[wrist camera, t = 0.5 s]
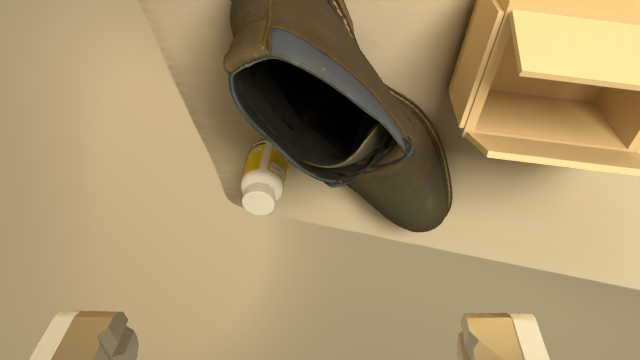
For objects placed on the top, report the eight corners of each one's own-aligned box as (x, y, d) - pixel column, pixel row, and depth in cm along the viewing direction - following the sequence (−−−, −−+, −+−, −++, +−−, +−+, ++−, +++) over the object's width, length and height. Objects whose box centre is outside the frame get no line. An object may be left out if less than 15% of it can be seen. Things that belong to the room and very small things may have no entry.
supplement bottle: (248, 167, 67) (234, 216, 59) (251, 135, 63) (236, 183, 56) (286, 173, 67) (277, 223, 60) (291, 142, 64) (282, 190, 56)
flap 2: (467, 131, 49) (488, 150, 42) (636, 152, 49) (684, 174, 42) (465, 137, 49) (486, 157, 42) (634, 158, 49) (681, 181, 43)
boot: (382, 228, 73) (388, 347, 58) (192, -1, 52) (123, 88, 37) (478, 188, 67) (515, 308, 51) (307, -90, 46) (281, -28, 31)
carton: (480, -34, 48) (503, 1, 41) (665, -10, 49) (723, 29, 41) (443, 89, 57) (456, 136, 50) (599, 108, 58) (637, 158, 50)
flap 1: (512, 9, 40) (522, 70, 37) (715, 35, 41) (744, 98, 37) (509, 14, 41) (518, 75, 37) (710, 40, 41) (738, 103, 38)
